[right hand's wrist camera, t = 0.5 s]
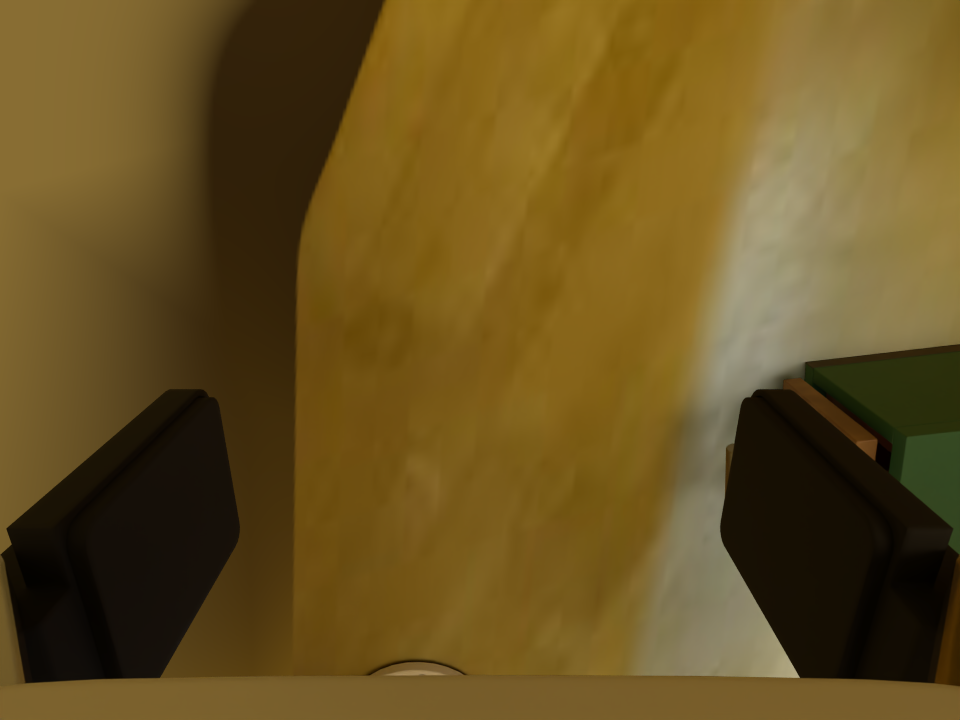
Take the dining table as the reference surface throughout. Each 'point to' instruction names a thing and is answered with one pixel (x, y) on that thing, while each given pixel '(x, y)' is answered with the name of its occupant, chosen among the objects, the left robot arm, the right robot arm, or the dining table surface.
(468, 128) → the dining table surface
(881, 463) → the drawer
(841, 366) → the cabinet
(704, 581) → the dining table surface
